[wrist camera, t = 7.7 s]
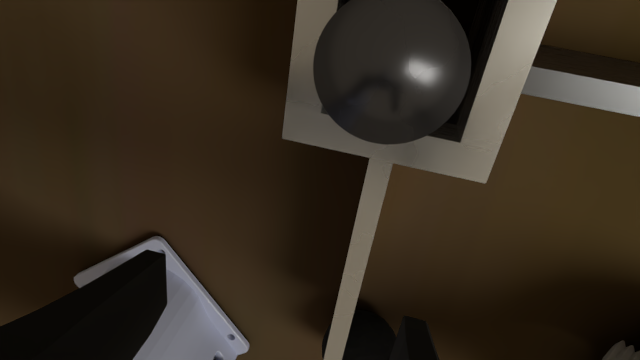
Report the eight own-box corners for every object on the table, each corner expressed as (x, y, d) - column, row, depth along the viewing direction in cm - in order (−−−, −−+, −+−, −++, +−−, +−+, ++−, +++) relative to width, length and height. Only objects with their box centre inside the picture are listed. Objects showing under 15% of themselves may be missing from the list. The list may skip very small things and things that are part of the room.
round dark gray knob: (463, 45, 17) (496, 103, 10) (378, 89, 19) (358, 166, 12) (422, -47, 16) (428, -49, 9) (335, 8, 17) (284, 41, 11)
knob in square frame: (612, 363, 23) (659, 462, 18) (286, 280, 25) (257, 351, 20) (873, 3, 14) (1083, 25, 10) (338, -85, 16) (308, -100, 11)
